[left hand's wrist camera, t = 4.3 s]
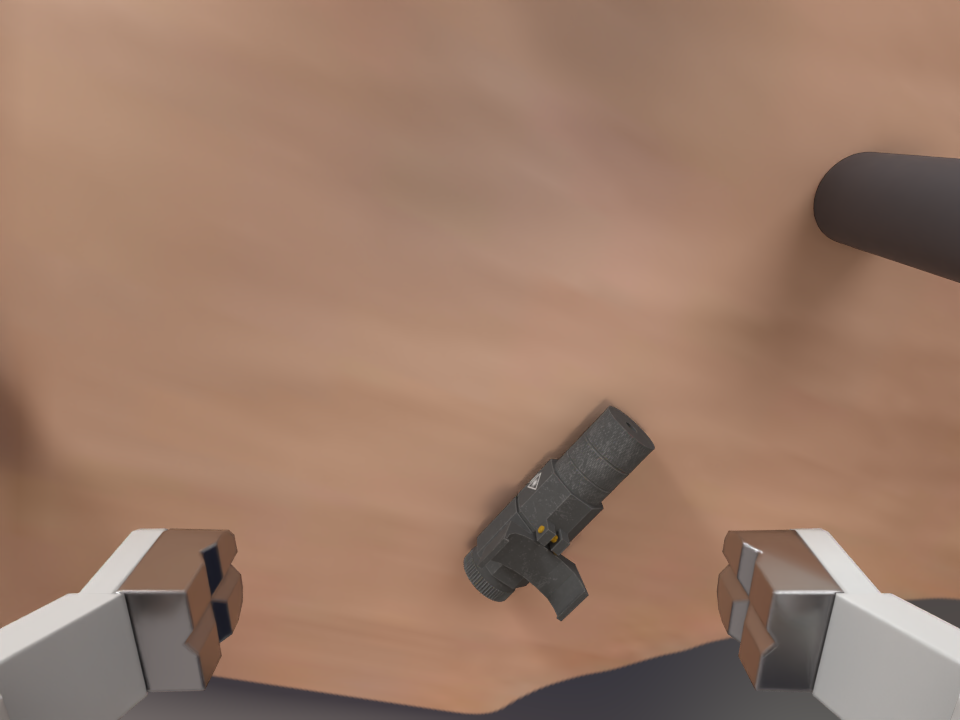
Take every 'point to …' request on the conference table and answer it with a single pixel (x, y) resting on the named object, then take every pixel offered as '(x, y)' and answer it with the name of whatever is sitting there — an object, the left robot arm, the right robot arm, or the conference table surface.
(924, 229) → the bottle
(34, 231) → the conference table surface
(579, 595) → the laser sight
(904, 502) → the conference table surface
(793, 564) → the left robot arm
